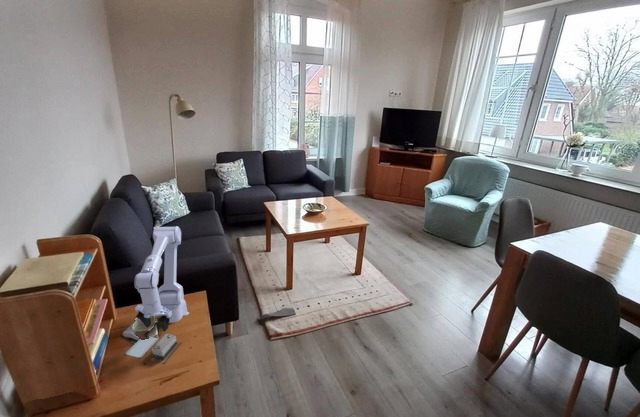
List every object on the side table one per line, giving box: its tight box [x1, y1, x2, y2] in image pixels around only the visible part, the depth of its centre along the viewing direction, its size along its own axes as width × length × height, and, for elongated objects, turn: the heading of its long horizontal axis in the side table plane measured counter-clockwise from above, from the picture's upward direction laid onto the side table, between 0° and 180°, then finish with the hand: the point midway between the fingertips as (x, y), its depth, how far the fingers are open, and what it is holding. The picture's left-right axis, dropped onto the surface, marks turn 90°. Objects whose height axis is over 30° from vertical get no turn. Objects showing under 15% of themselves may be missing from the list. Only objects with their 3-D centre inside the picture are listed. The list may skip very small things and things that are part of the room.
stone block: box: [122, 318, 159, 341], centre depth 132 cm, size 12×5×10 cm
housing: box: [151, 333, 178, 360], centre depth 120 cm, size 8×4×5 cm, turn 168°
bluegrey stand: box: [124, 336, 160, 359], centre depth 123 cm, size 7×10×2 cm
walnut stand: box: [148, 342, 182, 364], centre depth 121 cm, size 7×10×2 cm
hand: (157, 327), depth 121 cm, fingers open, 7 cm apart
